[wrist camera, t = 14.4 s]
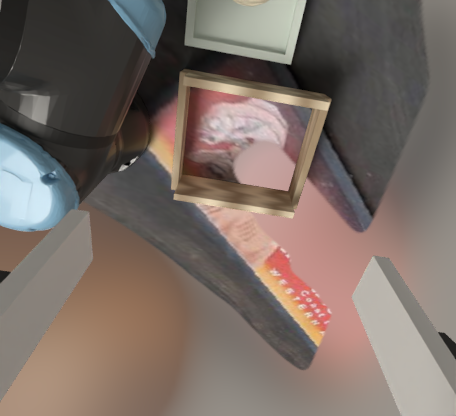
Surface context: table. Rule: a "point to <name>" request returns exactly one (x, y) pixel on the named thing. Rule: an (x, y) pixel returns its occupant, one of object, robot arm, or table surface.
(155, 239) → the table surface
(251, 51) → the tray
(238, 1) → the character mug
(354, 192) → the table surface
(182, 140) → the wooden frame
